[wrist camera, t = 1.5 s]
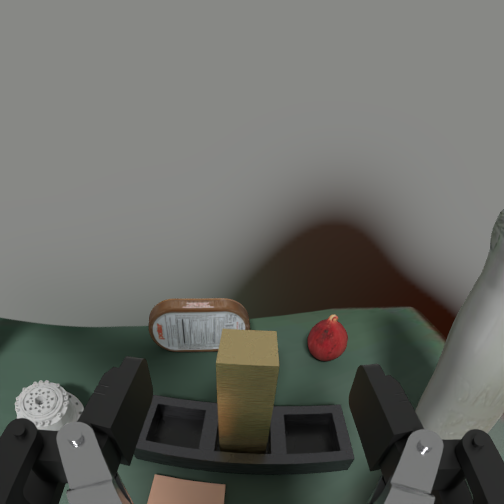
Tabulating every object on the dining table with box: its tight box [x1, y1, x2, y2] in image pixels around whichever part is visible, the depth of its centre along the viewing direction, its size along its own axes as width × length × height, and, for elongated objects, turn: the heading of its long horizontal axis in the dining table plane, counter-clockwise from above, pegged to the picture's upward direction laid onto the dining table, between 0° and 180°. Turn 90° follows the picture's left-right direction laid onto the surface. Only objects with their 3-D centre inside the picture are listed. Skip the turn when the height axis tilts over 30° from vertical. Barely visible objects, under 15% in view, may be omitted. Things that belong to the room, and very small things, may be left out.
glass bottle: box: [415, 209, 504, 440], centre depth 19 cm, size 10×10×28 cm
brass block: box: [216, 329, 279, 454], centre depth 24 cm, size 4×4×14 cm
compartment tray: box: [134, 395, 354, 475], centre depth 26 cm, size 22×8×2 cm, turn 89°
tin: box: [149, 298, 250, 352], centre depth 42 cm, size 15×3×8 cm, turn 100°
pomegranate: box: [308, 315, 348, 361], centre depth 40 cm, size 6×6×8 cm
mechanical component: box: [15, 380, 84, 431], centre depth 23 cm, size 10×4×10 cm
